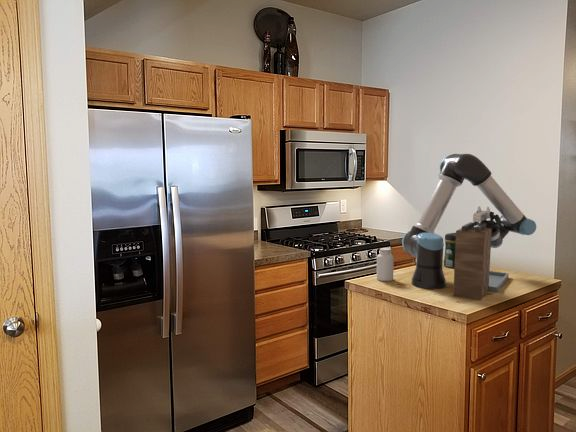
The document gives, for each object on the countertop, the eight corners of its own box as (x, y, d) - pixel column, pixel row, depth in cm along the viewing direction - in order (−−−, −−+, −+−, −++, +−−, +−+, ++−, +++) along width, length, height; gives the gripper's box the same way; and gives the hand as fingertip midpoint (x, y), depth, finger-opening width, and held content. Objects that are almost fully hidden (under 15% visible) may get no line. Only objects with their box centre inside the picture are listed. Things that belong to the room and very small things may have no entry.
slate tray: (469, 272, 235) (470, 268, 235) (508, 277, 225) (508, 273, 225) (454, 286, 209) (454, 281, 209) (497, 292, 200) (497, 287, 199)
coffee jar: (452, 264, 255) (453, 231, 253) (464, 266, 248) (466, 233, 246) (440, 266, 250) (442, 232, 248) (453, 269, 243) (454, 234, 241)
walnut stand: (462, 287, 207) (465, 221, 204) (488, 291, 201) (492, 223, 198) (453, 296, 194) (456, 225, 190) (480, 300, 188) (484, 228, 184)
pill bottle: (382, 276, 227) (382, 246, 225) (396, 279, 222) (397, 248, 220) (373, 279, 222) (373, 248, 220) (387, 282, 216) (388, 251, 214)
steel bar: (482, 217, 211) (482, 210, 210) (489, 217, 209) (489, 211, 209) (472, 221, 194) (473, 214, 194) (480, 221, 193) (480, 214, 192)
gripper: (507, 238, 216) (501, 218, 197) (471, 235, 224) (462, 215, 206) (509, 224, 218) (503, 202, 200) (474, 222, 227) (465, 201, 209)
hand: (483, 209), depth 203 cm, fingers closed on steel bar, 3 cm apart
